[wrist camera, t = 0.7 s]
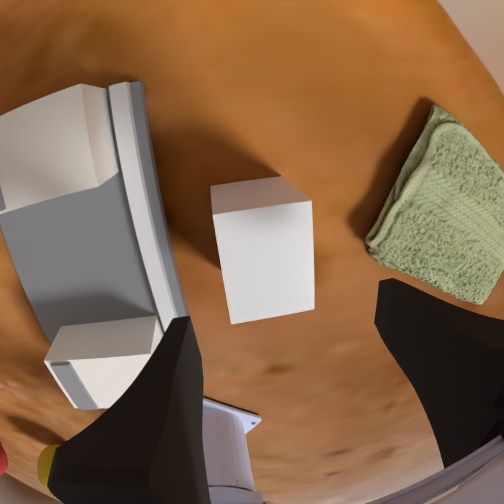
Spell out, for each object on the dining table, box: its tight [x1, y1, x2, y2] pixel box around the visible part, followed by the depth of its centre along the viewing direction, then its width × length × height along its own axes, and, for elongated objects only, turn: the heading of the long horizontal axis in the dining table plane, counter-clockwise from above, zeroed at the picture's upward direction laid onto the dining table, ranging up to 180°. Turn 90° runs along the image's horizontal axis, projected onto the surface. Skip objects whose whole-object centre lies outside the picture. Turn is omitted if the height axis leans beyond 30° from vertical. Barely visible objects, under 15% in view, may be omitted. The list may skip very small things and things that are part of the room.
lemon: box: [37, 444, 62, 496], centre depth 25 cm, size 6×6×8 cm
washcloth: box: [365, 105, 504, 305], centre depth 22 cm, size 13×18×3 cm
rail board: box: [0, 81, 189, 410], centre depth 17 cm, size 20×12×6 cm, turn 6°
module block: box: [210, 176, 314, 324], centre depth 18 cm, size 6×4×6 cm
